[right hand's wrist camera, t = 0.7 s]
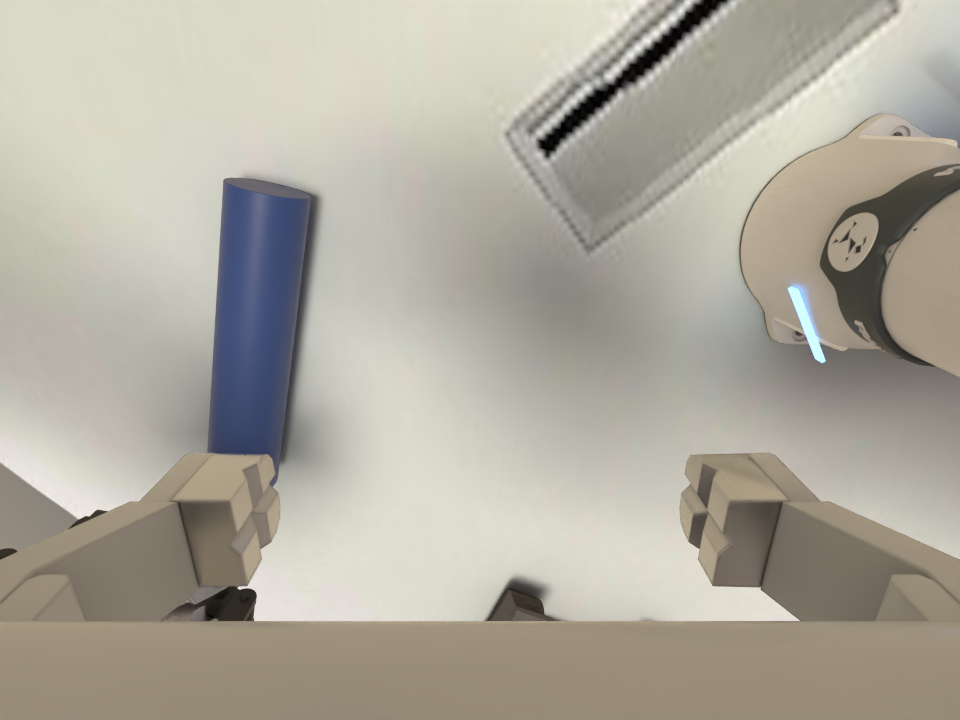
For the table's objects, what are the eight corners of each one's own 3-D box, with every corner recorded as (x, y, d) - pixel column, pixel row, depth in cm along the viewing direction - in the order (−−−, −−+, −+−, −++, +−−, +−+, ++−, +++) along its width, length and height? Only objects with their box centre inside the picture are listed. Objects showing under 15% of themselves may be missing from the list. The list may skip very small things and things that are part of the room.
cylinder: (243, 175, 41) (208, 180, 36) (320, 194, 42) (297, 202, 36) (223, 452, 51) (193, 490, 45) (286, 464, 51) (263, 503, 46)
